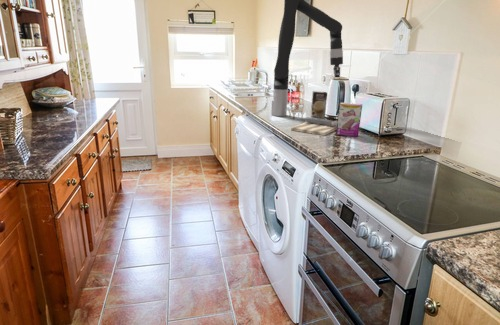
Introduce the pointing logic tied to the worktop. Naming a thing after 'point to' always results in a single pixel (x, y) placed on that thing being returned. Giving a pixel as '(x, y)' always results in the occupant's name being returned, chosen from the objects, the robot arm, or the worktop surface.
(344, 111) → the candy bar box
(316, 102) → the coffee box
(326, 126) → the striped wooden cutting board
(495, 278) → the worktop surface
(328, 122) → the swing bar
